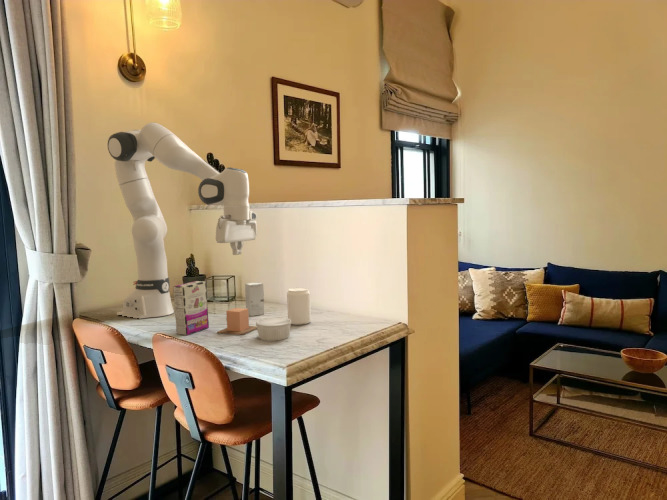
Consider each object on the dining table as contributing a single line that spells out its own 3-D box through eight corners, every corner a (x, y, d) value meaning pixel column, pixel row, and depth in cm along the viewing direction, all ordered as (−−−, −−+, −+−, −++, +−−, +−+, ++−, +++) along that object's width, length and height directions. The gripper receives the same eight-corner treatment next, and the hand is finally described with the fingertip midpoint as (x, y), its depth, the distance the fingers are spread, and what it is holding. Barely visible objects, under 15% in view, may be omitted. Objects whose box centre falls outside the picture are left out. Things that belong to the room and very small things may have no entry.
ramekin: (286, 342, 156) (286, 325, 156) (251, 342, 158) (250, 325, 157) (295, 333, 167) (295, 317, 167) (262, 332, 169) (262, 317, 168)
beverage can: (299, 326, 176) (297, 292, 174) (283, 323, 181) (282, 289, 180) (315, 322, 181) (314, 288, 180) (299, 319, 187) (298, 286, 186)
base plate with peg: (217, 333, 170) (216, 314, 169) (234, 326, 179) (233, 308, 178) (242, 335, 166) (242, 316, 165) (258, 328, 175) (258, 310, 174)
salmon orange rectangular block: (240, 331, 169) (239, 311, 168) (227, 330, 171) (226, 310, 170) (249, 327, 174) (248, 308, 173) (236, 326, 176) (235, 307, 175)
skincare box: (250, 316, 194) (249, 284, 193) (245, 314, 198) (244, 283, 197) (265, 314, 197) (263, 283, 196) (260, 312, 201) (258, 281, 200)
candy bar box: (198, 326, 180) (195, 280, 178) (209, 328, 177) (206, 281, 176) (175, 334, 170) (172, 285, 168) (186, 335, 167) (183, 286, 166)
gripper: (226, 215, 167) (227, 257, 168) (259, 214, 185) (260, 252, 187) (210, 215, 169) (211, 256, 170) (245, 214, 188) (245, 251, 189)
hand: (237, 254), depth 179 cm, fingers closed
